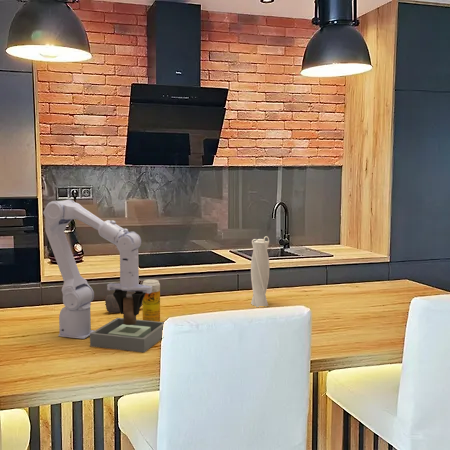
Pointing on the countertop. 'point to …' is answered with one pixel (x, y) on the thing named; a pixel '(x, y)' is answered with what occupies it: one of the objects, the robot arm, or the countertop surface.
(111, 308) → the perforated stone tool
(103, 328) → the graphite box
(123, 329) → the plate
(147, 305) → the beer can
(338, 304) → the countertop surface
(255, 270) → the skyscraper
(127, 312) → the walnut peg
